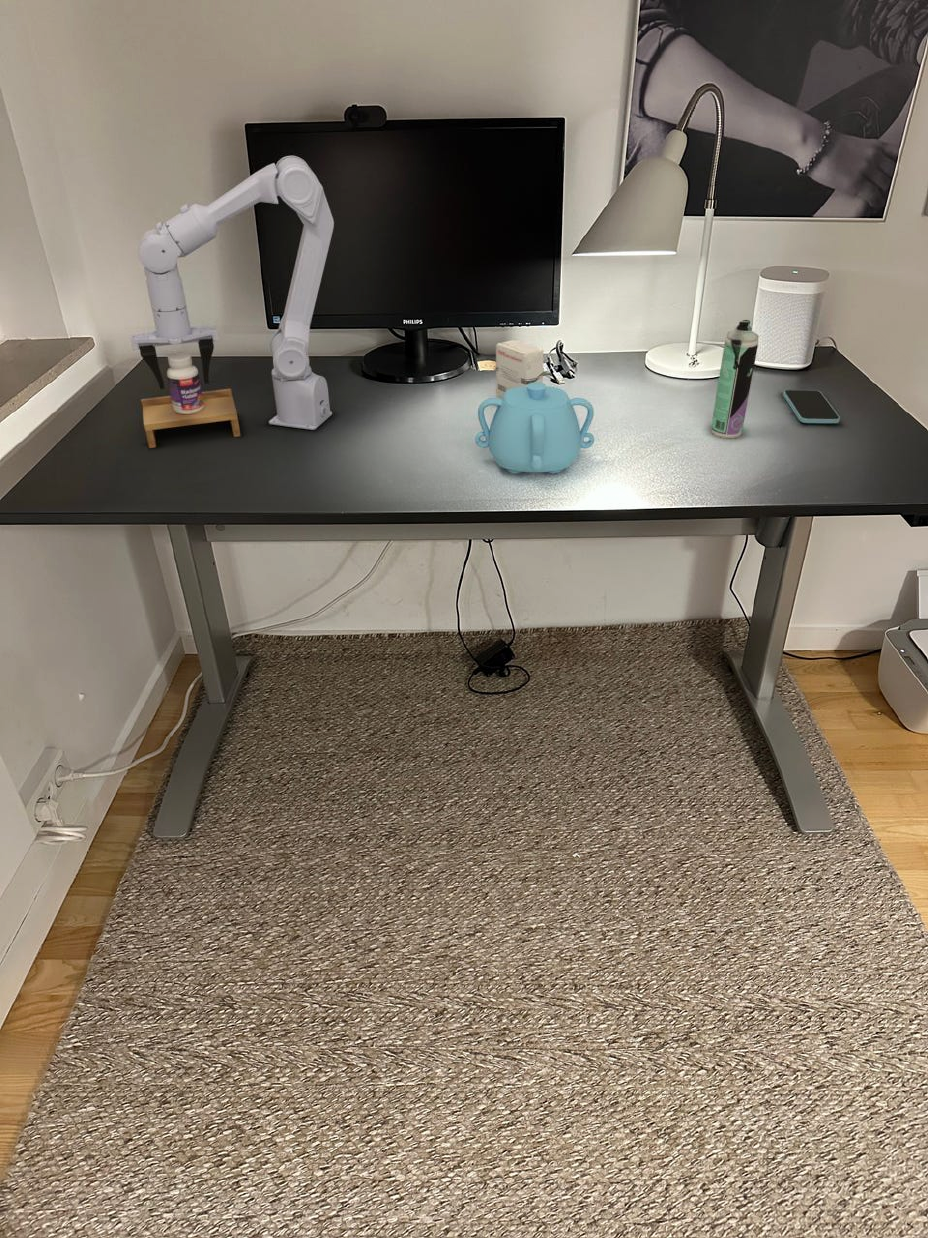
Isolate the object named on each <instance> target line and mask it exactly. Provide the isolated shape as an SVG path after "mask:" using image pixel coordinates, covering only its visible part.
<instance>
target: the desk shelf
mask: <svg viewBox="0 0 928 1238" xmlns="http://www.w3.org/2000/svg"><path fill="white" fill-rule="evenodd" d="M202 396H203V401H204V408H203V409H202V410H201V411H199V412H196V413H192V414H180V413H177V412H175V411H174V408H173V404H172V399H171V395H165V396H157V397H156V396H155V397H149V398H141V400H140V401H141V405H142V417H143V419H142V420H143V427H144V431H145V436H146V440H147V444H148V448H149V449H152V448H154V449H155V448H157V440H156V430H163V429H171V428H178V427H185V426H193V425H201V424H210V423H216V422H226V421H229V424H230V427H231V431H232V435H233V438H236V437H241V430H240V424H239V419H238V413H237V409H236V405H235V400H234V398H233V392H232V388H224V389H215V390H208V391H207V390H206V391H202Z"/></svg>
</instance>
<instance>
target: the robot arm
mask: <svg viewBox="0 0 928 1238" xmlns="http://www.w3.org/2000/svg"><path fill="white" fill-rule="evenodd" d="M278 197H280V198H281V200H282V201H283V202H284V203H285V204H286V205H287V206H288V207H289V208H290V209H292V210H293V211H294V212H296V215H297V216H298V218H299V219H300V221H301V223H302V225H303V227H302V232H301V236H300V239H299V240H300V241H299V246H298V249H297V255H296V259H295V262H294V263H295V264H294V267H293V271H292V277H291V280H290V284H289V290H288V295H287V299H286V303H285V307H284V312H283V315H282V317H281V319H280V321H279V325H278V328H277V330H276V331H275V333H274V334H273V335H272V336H271V339H270V341H269V351H270V353H271V356H272V363H273V364H272V365H273V367H272V369H271V379H272V387H273V394H274V401H275V407H276V415H275V416H273V418H271V419H270V420H269V421H268V424H269V425H273V426H280V427H281V426H282V427H288V428H294V429H302V430H303V429H304V430H310V431H315V430H316V429H318V427H320V426H321V425H322V424H323V423H324V422H325V421H327V420H328V418H330V417H331V416H332V415H333V412H332V411H331V407H330V405H331V404H330V397H329V387H328V382H327V379H326V378H325V377H324V376H322V375H318V374H316V373H314V372H313V371H312V367H311V366H310V358H309V353H308V348H309V343H310V331H311V330H310V329H311V324H312V320H313V319H312V318H313V315H314V311H315V307H316V302H317V298H318V293H319V290H320V287H321V286H320V285H321V283H322V277H323V273H324V270H325V265H326V261H327V257H328V252H329V248H330V244H331V239H332V235H333V232H334V228H335V221H334V217H333V215H332V212H331V208H330V206H329V203H328V201H327V200H328V199H327V197H326V194H325V191H324V187H323V185H322V184H321V183H320V181H319V179H318V177H317V175H316V174H315V172H314V171H313V170H312V168H311V167H310V166H309V165H308V163H307V162H306V161H305V160H304V159H303V158H301V157H299V156H296V155H286V156H284V157H282V158H280V159H279V160H278V161H277V163H276V164H275V162H273V163H270V164H268V165H266V166H264V167H262V168H261V169H259V170H257V171H256V172H254V173H253V174H252V175H250V176H248V177H247V178H245V179H244V180H243V181H241V182H240V183H238V184H237V185H236V186H234V187H233V188H231V189H230V190H229V191H227V192H225V193H224V194H223V195H221V196H219V198H217V199H215V200H214V201H213V202H211V203H210V204H208V205H201V204H198V203H194V204H192V205H190V206H189V204H187V203H185V204H184V205H182V206H181V207H180V213H178V214H176V215H175V216H173V217H172V218H170V219H169V220H167V221H165V222H164V223H163V222H162V221H159V222H158V223H156V224H155V228H156V229H154V228H152V229H149V230H147V231H146V232H144V234H143V235H142V236H141V238H140V241H139V246H138V257H139V260H140V262H141V264H142V265H143V266H144V269H143V271H144V276H145V277H146V280H145V284H146V288H147V294H148V298H149V303H150V307H151V312H152V316H153V321H154V326H155V330H154V331H149V332H144V333H141V334H134V335H133V334H132V335H130V343H131V348H132V351H139V353H140V357H141V358H142V359H143V360H144V362H145V363H146V364H147V366H148V367H149V368H150V370H151V372H152V374H153V375H154V377H155V379H156V381H157V384H158V386H159V389H160V390H164V389H165V383H164V379H163V375H162V371H161V368H160V365H159V359H158V355H157V350H156V347H165V346H173V345H182V344H183V345H184V344H192V343H197V344H198V349H199V353H200V359H201V370H202V377H203V381H204V382H203V383H204V384H205V385H206V384H209V383H210V380H209V371H210V365H211V360H212V355H213V353H214V350H215V345H214V342H220V335H219V331H218V328H217V326H207V327H205V326H202V327H200V326H199V327H198V326H197V327H196V326H193V327H191V322H190V316H189V312H188V307H187V301H186V296H185V292H184V286H183V280H182V277H181V275H180V273H179V272H180V271H179V267H178V262H177V261H178V258H185V257H187V256H189V255H190V254H192V253H193V252H195V251H197V250H198V249H200V248H201V247H203V246H204V245H206V244H208V243H209V242H210V241H213V240H215V238H217V236H218V235H217V234H218V228H219V226H220V225H222V224H223V223H225V222H227V221H229V220H230V219H233V218H234V217H236V216H237V215H239V214H242V213H243V212H244V211H246V210H248V209H249V208H251V207H253V206H255V205H257V204H258V203H267V204H274V205H279V199H278Z"/></svg>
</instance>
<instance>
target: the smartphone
mask: <svg viewBox="0 0 928 1238" xmlns="http://www.w3.org/2000/svg"><path fill="white" fill-rule="evenodd" d="M782 397H783V398H784V399H785V402H787V404H788V405H789V407H790V409H791V410H792V412H793V413H794V415H795V416H796V418H797V420H798V421H799V422H800V423H804V424H839V423H840V420H841V416H840V415H839V414H838V413H837V411H836V409H834V407H833V406H832V405H831V403H830V402H829V401H828V399H827V398H826V396H824V394H823V393H822V391H820V390H816V389H812V390H811V389H785V390H783V394H782Z"/></svg>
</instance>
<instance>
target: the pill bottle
mask: <svg viewBox="0 0 928 1238" xmlns="http://www.w3.org/2000/svg"><path fill="white" fill-rule="evenodd" d="M167 362H168V366H169V368H168V369H167V370H166V378H167V382H168V388H169V393H170V396H171V399H172V404H173V408H174V411H175V412H177V413H180V414H192V413H196V412H199V411H201V410H202V409H203V408H204V401H203V396H202V392H203V391H202V386H201V381H200V374H199V370H198V368H197V367H196V366H195V365H194V364H193V357H192V354H190V353H189V352H183V351H182V352H174V353H170V354H169V355H168V356H167Z"/></svg>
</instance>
